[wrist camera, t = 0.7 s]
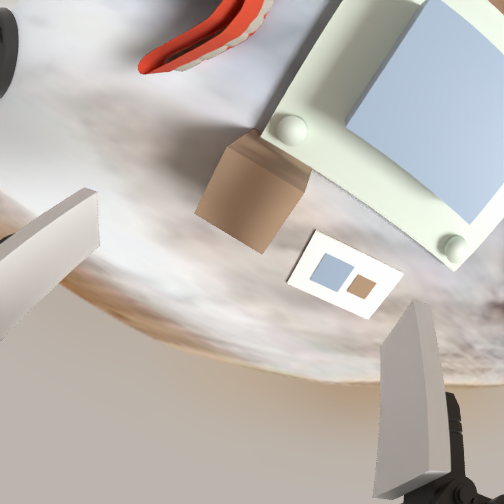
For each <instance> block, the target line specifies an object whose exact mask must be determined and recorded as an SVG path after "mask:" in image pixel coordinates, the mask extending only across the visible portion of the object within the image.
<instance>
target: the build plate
mask: <svg viewBox="0 0 504 504" xmlns="http://www.w3.org/2000/svg"><path fill="white" fill-rule="evenodd" d="M424 1H425V0H343V1H342V2H341V4H340V5H339V7H338V8H337V10H336V12H335V13H334V15H333V16H332V18H331V19H330V21H329V22H328V24H327V26H326V27H325V29H324V30H323V32H322V34H321V35H320V37H319V38H318V40H317V42H316V43H315V45H314V46H313V48H312V50H311V51H310V53H309V55H308V56H307V58H306V59H305V61H304V63H303V64H302V66H301V68H300V69H299V71H298V73H297V74H296V76H295V78H294V79H293V81H292V83H291V84H290V86H289V88H288V90H287V91H286V93H285V95H284V96H283V98H282V100H281V101H280V103H279V105H278V107H277V108H276V110H275V112H274V114H273V115H272V117H271V119H270V121H269V122H268V124H267V126H266V128H265V129H264V131H263V133H262V135H261V136H260V137H261V138H263V139H265V140H267V141H268V142H270V143H272V144H273V145H275V146H277V147H278V148H280V149H282V150H284V151H285V152H287V153H288V154H290V155H292V156H293V157H295V158H297V159H298V160H300V161H302V162H303V163H305V164H306V165H308V166H310V167H311V168H313V169H314V170H316V171H317V172H319V173H321V174H322V175H324V176H325V177H327V178H328V179H330V180H331V181H333V182H334V183H336V184H337V185H339V186H340V187H342V188H343V189H345V190H346V191H348V192H349V193H351V194H352V195H354V196H355V197H357V198H358V199H359V200H361V201H362V202H364V203H365V204H367V205H368V206H369V207H371V208H372V209H374V210H375V211H376V212H378V213H379V214H381V215H382V216H383V217H385V218H386V219H388V220H389V221H390V222H392V223H393V224H394V225H396V226H397V227H398V228H400V229H401V230H402V231H404V232H405V233H406V234H408V235H409V236H410V237H412V238H413V239H414V240H415V241H417V242H418V243H419V244H421V245H422V246H423V247H424V248H426V249H427V250H428V251H429V252H431V253H432V254H433V255H434V256H436V257H437V258H438V259H439V260H441V261H442V262H443V263H444V264H446V265H447V266H448V267H449V268H450V269H452V270H453V271H454V272H455V271H456V270H457V269H458V268H459V266H460V265H461V264H462V263H463V262H464V261H465V260H466V259H467V258H468V257H469V256H470V255H471V254H472V253H473V252H474V251H475V249H476V248H477V247H478V246H479V245H480V244H481V243H482V242H483V241H484V240H485V238H486V237H487V236H488V235H489V234H490V233H491V232H492V230H493V229H494V228H495V227H496V226H497V224H498V223H499V222H500V221H501V220H502V218H503V217H504V183H503V185H502V186H501V187H500V189H499V190H498V191H497V192H496V194H495V195H494V196H493V197H492V199H491V200H490V201H489V202H488V204H487V205H486V206H485V207H484V209H483V210H482V211H481V212H480V213H479V215H478V216H477V217H476V218H475V219H474V221H473V222H472V223H471V224H470V225H469V224H468V223H467V222H466V221H465V220H463V219H462V218H461V217H460V216H459V215H458V214H457V213H456V212H455V211H454V210H452V209H451V208H450V207H449V206H448V205H447V204H446V203H445V202H443V201H442V200H441V199H440V198H439V197H438V196H436V195H435V194H434V193H433V192H432V191H431V190H429V189H428V188H427V187H426V186H425V185H423V184H422V183H421V182H420V181H418V180H417V179H416V178H415V177H413V176H412V175H411V174H410V173H408V172H407V171H406V170H405V169H403V168H402V167H401V166H399V165H398V164H397V163H395V162H394V161H393V160H391V159H390V158H389V157H387V156H386V155H385V154H383V153H382V152H381V151H379V150H378V149H376V148H375V147H374V146H372V145H371V144H369V143H368V142H367V141H365V140H364V139H362V138H361V137H359V136H358V135H356V134H355V133H353V132H352V131H350V130H349V129H347V128H346V127H345V118H346V117H347V115H348V114H349V112H350V111H351V109H352V108H353V106H354V105H355V103H356V102H357V100H358V99H359V97H360V96H361V94H362V93H363V91H364V90H365V88H366V86H367V85H368V83H369V82H370V80H371V79H372V77H373V76H374V74H375V73H376V71H377V70H378V68H379V67H380V65H381V64H382V62H383V61H384V59H385V58H386V56H387V55H388V53H389V51H390V50H391V48H392V47H393V45H394V44H395V42H396V41H397V39H398V38H399V36H400V35H401V33H402V32H403V30H404V29H405V27H406V26H407V24H408V23H409V21H410V19H411V18H412V16H413V15H414V13H415V12H416V10H417V9H418V7H419V6H420V5H421V4H422V3H423V2H424ZM441 1H443V2H444V3H445V4H447V5H448V6H449V7H451V8H452V9H453V10H454V11H456V12H457V13H458V14H459V15H461V16H462V17H463V18H464V19H466V20H467V21H468V22H469V23H470V24H471V25H473V26H474V27H475V28H476V29H477V30H478V31H479V32H481V33H482V34H483V35H484V36H485V37H486V38H487V39H488V40H489V41H490V42H491V43H492V44H493V45H494V46H495V47H497V48H498V49H499V50H500V51H501V52H502V53H503V54H504V15H503V14H502V13H501V12H500V11H499V10H498V9H496V8H495V7H494V6H493V5H492V4H491V3H490V2H489V1H488V0H441Z"/></svg>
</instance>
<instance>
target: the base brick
mask: <svg viewBox="0 0 504 504" xmlns="http://www.w3.org/2000/svg"><path fill="white" fill-rule="evenodd" d="M345 127H346V128H347V129H349V130H350V131H352V132H353V133H355V134H356V135H358V136H359V137H361V138H362V139H364V140H365V141H367V142H368V143H369V144H371V145H372V146H374V147H375V148H376V149H378V150H379V151H381V152H382V153H383V154H385V155H386V156H387V157H389V158H390V159H391V160H393V161H394V162H395V163H397V164H398V165H399V166H401V167H402V168H403V169H405V170H406V171H407V172H408V173H410V174H411V175H412V176H413V177H415V178H416V179H417V180H418V181H420V182H421V183H422V184H423V185H425V186H426V187H427V188H428V189H429V190H431V191H432V192H433V193H434V194H435V195H436V196H438V197H439V198H440V199H441V200H442V201H443V202H445V203H446V204H447V205H448V206H449V207H450V208H451V209H452V210H454V211H455V212H456V213H457V214H458V215H459V216H460V217H461V218H462V219H463V220H465V221H466V222H467V223H468V224H469V225H470V224H471V223H472V222H473V221H474V219H475V218H476V217H477V216H478V215H479V213H480V212H481V211H482V210H483V209H484V207H485V206H486V205H487V204H488V202H489V201H490V200H491V199H492V197H493V196H494V195H495V194H496V192H497V191H498V190H499V189H500V187H501V186H502V185H503V183H504V54H503V53H502V52H501V51H500V50H499V49H498V48H497V47H495V46H494V45H493V44H492V43H491V42H490V41H489V40H488V39H487V38H486V37H485V36H484V35H483V34H482V33H481V32H479V31H478V30H477V29H476V28H475V27H474V26H473V25H471V24H470V23H469V22H468V21H467V20H466V19H464V18H463V17H462V16H461V15H459V14H458V13H457V12H456V11H454V10H453V9H452V8H451V7H449V6H448V5H447V4H445V3H444V2H443V1H441V0H425V1H424V2H423V3H422V4H421V5H420V6H419V7H418V9H417V10H416V12H415V13H414V15H413V16H412V18H411V19H410V21H409V23H408V24H407V26H406V27H405V29H404V30H403V32H402V33H401V35H400V36H399V38H398V39H397V41H396V42H395V44H394V45H393V47H392V48H391V50H390V51H389V53H388V55H387V56H386V58H385V59H384V61H383V62H382V64H381V65H380V67H379V68H378V70H377V71H376V73H375V74H374V76H373V77H372V79H371V80H370V82H369V83H368V85H367V86H366V88H365V90H364V91H363V93H362V94H361V96H360V97H359V99H358V100H357V102H356V103H355V105H354V106H353V108H352V109H351V111H350V112H349V114H348V115H347V117H346V118H345Z"/></svg>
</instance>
